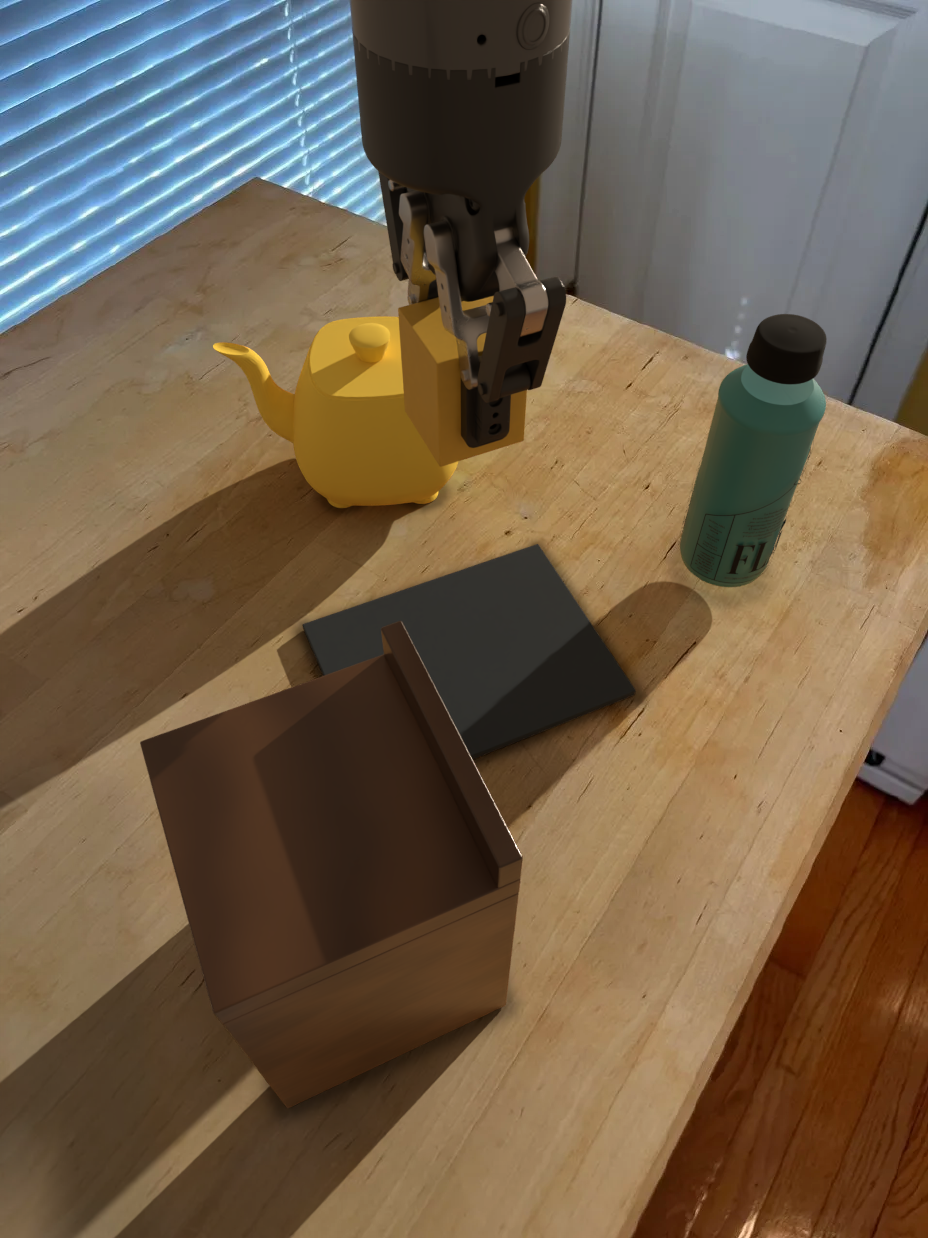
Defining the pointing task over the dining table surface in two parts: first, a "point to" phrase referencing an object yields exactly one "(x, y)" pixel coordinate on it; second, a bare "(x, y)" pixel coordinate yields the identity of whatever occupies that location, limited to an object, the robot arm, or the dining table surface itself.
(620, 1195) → the dining table surface
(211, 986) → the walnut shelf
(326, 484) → the teapot
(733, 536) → the beverage bottle
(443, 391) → the yellow block
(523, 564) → the slate mat
